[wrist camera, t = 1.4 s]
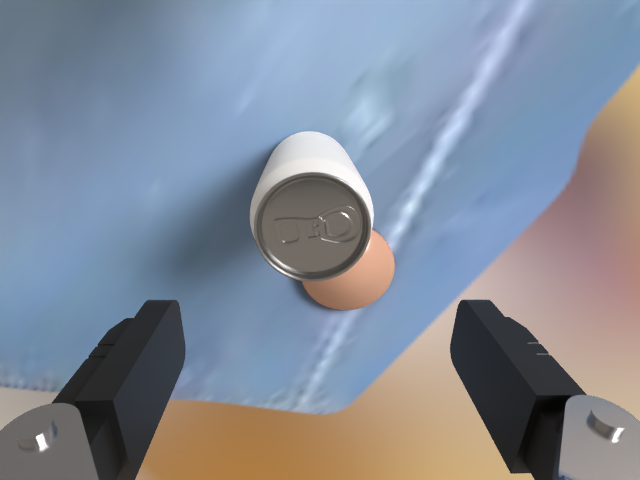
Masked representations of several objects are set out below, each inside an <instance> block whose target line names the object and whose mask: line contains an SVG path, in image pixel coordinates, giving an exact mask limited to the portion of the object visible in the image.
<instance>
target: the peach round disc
mask: <svg viewBox="0 0 640 480" xmlns="http://www.w3.org/2000/svg"><path fill="white" fill-rule="evenodd" d="M394 268H395V263H394V257H393V253H392V251H391V249H390V247H389V245H388V243H387V242H386V240H385V239H384V238H383V236H382V235H381V234H379V233H378V232H377V231H376V230H374V229H373V228H372V230H371V234H370V239H369V243H368V246H367V248H366V250H365V252H364V254H363V255H362V257H361V258H360V259H359V261H358V262H357V263H356V264H355V265H354V266H353V267H352V268H350V269H349V270H348V271H346V272H345V273H343V274H341V275H339V276H337V277H335V278H332V279H329V280H324V281H318V282H306V281H302V283H303V286H304V288H305V289H306V291H307V292H308V294H309V295H310V296H311V297H312V298H313V299H314V300H316V301H317V302H318V303H320V304H322V305H324V306H326V307H329V308H332V309H337V310H353V309H358V308H361V307H364V306H367V305H369V304H371V303H372V302H374V301H375V300H377V299H378V298H379V297H380V296H382V295H383V293H384V292H385V291H386V290H387V288H388V287H389V285H390V283H391V281H392V278H393V275H394Z"/></svg>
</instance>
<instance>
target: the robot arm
mask: <svg viewBox="0 0 640 480" xmlns="http://www.w3.org/2000/svg"><path fill="white" fill-rule="evenodd" d="M450 353H451V359H452V362H453V365H454V367H455V369H456V371H457V373H458V375H459V376H460V379H461V380H462V382H463V384H464V386H465V388H466V390H467V392H468V394H469V395H470V397H471V399H472V401H473V403H474V405H475V407H476V409H477V411H478V413H479V414H480V416H481V418H482V420H483V422H484V424H485V426H486V428H487V429H488V431H489V433H490V435H491V437H492V439H493V441H494V443H495V445H496V446H497V448H498V450H499V452H500V454H501V456H502V458H503V460H504V461H505V463H506V465H507V467H508V469H509V471H510V473H531V474H532V476H533V477H534V479H535V480H640V421H639V420H638V419H636V418H635V417H634V416H633V415H632V414H630V413H629V412H628V411H626V410H625V409H623V408H621V407H620V406H618V405H616V404H614V403H612V402H610V401H607V400H605V399H602V398H598V397H595V396H589V395H586V393H585V392H584V391H583V390H582V389H581V388H580V387H579V386H578V385H577V383H576V382H575V381H574V380H573V379H572V378H571V377H570V376H569V375H568V373H566V371H565V370H564V369H563V368H562V367H561V366H560V365H559V364H558V363H557V361H556V360H555V359H554V358H553V357H552V356H550V355H549V354H548V352H547V350H546V349H545V348H544V347H543V346H542V345H541V344H539V343H538V340H537V339H536V338H535V337H534V336H533V335H532V334H531V333H530V332H529V330H527V328H525V327H524V326H522V325H521V324H519V323H518V322H516V321H514V320H513V319H511V318H510V317H504V316H503V314H502V313H501V312H500V311H499V310H498V308H497V307H495V305H494V304H493V303H492V302H491V301H490V300H461V301H460V303H459V305H458V309H457V313H456V318H455V324H454V329H453V334H452V339H451V344H450ZM184 360H185V340H184V333H183V327H182V320H181V313H180V307H179V303H178V302H177V300H147V301H146V302H145V303H144V305H143V306H142V307H141V309H140V310H139V312H138V313H137V314H136V316H135V317H134V318H126V319H124V320H123V321H121V322H120V323H119V324H117V325H116V326H114V327H113V328H111V329H110V330H109V331H108V332H107V333H106V335H105V336H104V337H103V338H102V340H101V341H100V342H99V343H98V347H95V349H94V350H93V351H92V352H91V354H90V355H89V358H88V359H86V360H85V361H84V363H83V364H82V365H81V366H80V368H79V369H78V370H77V371H76V373H75V374H74V375H73V376H72V378H71V379H70V380H69V382H68V383H67V384H66V385H65V387H64V388H63V389H62V390H61V392H60V393H59V394H58V396H57V397H56V398H55V399H54V401H53V402H52V403H51V404H48V405H44V406H40V407H37V408H35V409H32V410H30V411H28V412H26V413H24V414H22V415H21V416H19V417H17V418H16V419H14V420H13V421H11V422H10V423H9V424H7V425H6V426H5V427H4V428H3V429H2V430H1V431H0V480H135V478H136V476H137V474H138V471H139V469H140V467H141V464H142V462H143V460H144V457H145V455H146V452H147V450H148V448H149V445H150V443H151V441H152V438H153V436H154V434H155V431H156V429H157V426H158V424H159V422H160V420H161V417H162V415H163V412H164V410H165V408H166V405H167V403H168V401H169V398H170V396H171V394H172V391H173V389H174V387H175V384H176V382H177V380H178V377H179V375H180V372H181V370H182V368H183V364H184Z"/></svg>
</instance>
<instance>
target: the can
mask: <svg viewBox="0 0 640 480" xmlns="http://www.w3.org/2000/svg"><path fill="white" fill-rule="evenodd" d="M373 218H374V213H373V205H372V200H371V197H370V194H369V191H368V189H367V187H366V185H365V183H364V182H363V180H362V178H361V176H360V175H359V173H358V171H357V170H356V168H355V166H354V165H353V163H352V161H351V160H350V158H349V156H348V155H347V153H346V152H345V150H344V149H343V148H342V146H341V145H340V144H339V143H338V142H337V141H335V140H334V139H333V138H331V137H329V136H327V135H325V134H322V133H319V132H312V131H306V132H300V133H296V134H293V135H291V136H289V137H287V138H286V139H284V140H283V141H282V142H281V143H280V144H279V145H278V146H277V147H276V148H275V149H274V151H273V153H272V154H271V156H270V158H269V160H268V162H267V164H266V167H265V169H264V171H263V173H262V176H261V178H260V180H259V182H258V185H257V187H256V190H255V192H254V195H253V198H252V202H251V207H250V225H251V230H252V233H253V236H254V238H255V241H256V244H257V247H258V249H259V251H260V253H261V255H262V256H263V258H264V259H265V260H266V261H267V263H268V264H269V265H270V266H271V267H273V268H274V269H275V270H276V271H278V272H279V273H281V274H283V275H285V276H287V277H289V278H292V279H295V280H300V281H306V282H318V281H324V280H329V279H332V278H335V277H337V276H339V275H341V274H343V273H345V272H346V271H348V270H349V269H350V268H352V267H353V266H354V265H355V264H356V263H357V262H358V261H359V259H360V258H361V257H362V255H363V254H364V252H365V250H366V248H367V246H368V243H369V239H370V234H371V230H372V226H373Z"/></svg>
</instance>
